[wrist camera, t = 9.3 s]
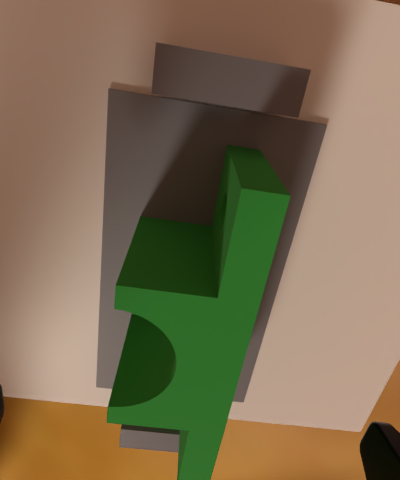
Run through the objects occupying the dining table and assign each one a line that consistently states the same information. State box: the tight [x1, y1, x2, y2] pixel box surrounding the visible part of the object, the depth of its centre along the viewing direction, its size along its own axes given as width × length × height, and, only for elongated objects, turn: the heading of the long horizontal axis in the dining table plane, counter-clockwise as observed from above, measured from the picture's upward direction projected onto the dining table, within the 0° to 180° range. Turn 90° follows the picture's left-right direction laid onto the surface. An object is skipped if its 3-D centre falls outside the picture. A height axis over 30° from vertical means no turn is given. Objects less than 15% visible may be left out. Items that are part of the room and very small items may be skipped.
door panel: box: [0, 0, 400, 452], centre depth 14 cm, size 20×18×3 cm
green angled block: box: [107, 145, 291, 480], centre depth 12 cm, size 11×4×5 cm, turn 171°
